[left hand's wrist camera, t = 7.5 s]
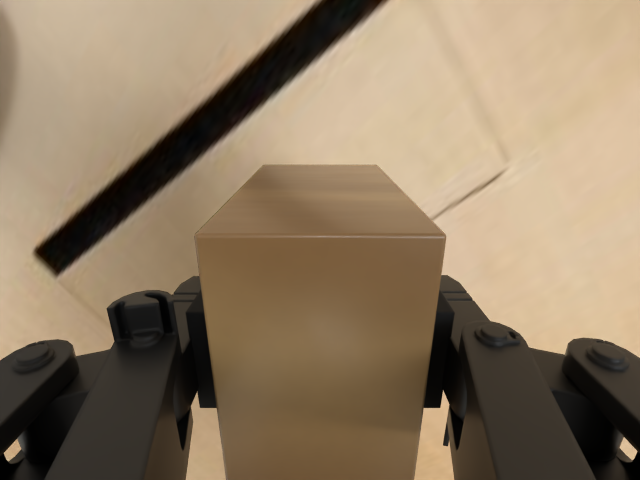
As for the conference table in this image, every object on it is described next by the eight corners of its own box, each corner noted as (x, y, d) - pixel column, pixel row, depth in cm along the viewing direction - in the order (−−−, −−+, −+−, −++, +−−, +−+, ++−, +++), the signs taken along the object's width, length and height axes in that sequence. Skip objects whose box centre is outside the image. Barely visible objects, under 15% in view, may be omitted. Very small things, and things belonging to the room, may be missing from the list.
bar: (262, 164, 14) (192, 234, 6) (377, 164, 14) (448, 234, 6) (283, 537, 21) (263, 768, 14) (356, 537, 21) (376, 769, 14)
